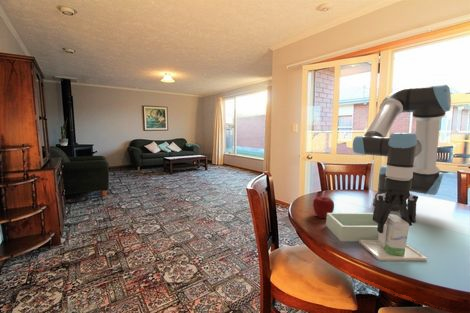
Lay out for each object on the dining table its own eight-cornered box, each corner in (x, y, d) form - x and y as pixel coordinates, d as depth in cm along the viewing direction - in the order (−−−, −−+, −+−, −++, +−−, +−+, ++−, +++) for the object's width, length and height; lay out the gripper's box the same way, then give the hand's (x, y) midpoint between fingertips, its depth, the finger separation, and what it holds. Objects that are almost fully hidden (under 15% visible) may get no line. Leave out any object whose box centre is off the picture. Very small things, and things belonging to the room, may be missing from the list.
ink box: (377, 242, 86) (380, 212, 85) (392, 244, 86) (396, 213, 84) (389, 254, 78) (393, 221, 76) (406, 256, 77) (410, 223, 76)
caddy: (380, 225, 103) (382, 213, 102) (404, 241, 89) (406, 226, 88) (326, 225, 102) (326, 212, 102) (341, 241, 88) (342, 226, 88)
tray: (399, 242, 88) (400, 239, 88) (426, 261, 76) (426, 257, 76) (359, 242, 88) (359, 239, 87) (379, 261, 76) (379, 257, 76)
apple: (314, 211, 119) (315, 193, 117) (334, 215, 114) (335, 196, 113) (310, 218, 111) (311, 198, 109) (331, 222, 106) (333, 201, 104)
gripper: (417, 175, 82) (410, 236, 85) (364, 175, 82) (358, 236, 85) (435, 180, 75) (427, 246, 78) (377, 180, 74) (371, 246, 77)
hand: (391, 240), depth 81 cm, fingers open, 6 cm apart
